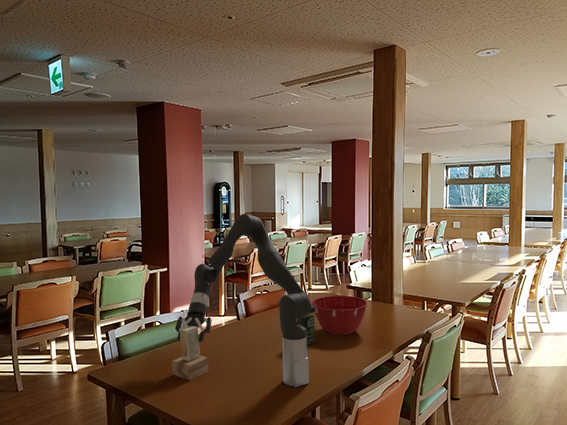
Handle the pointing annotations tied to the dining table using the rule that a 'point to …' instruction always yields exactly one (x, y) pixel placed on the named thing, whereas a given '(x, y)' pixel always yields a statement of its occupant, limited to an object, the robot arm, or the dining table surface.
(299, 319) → the coffee jar
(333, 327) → the mixing bowl
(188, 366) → the streaked beige block
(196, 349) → the skincare box
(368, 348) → the dining table surface
